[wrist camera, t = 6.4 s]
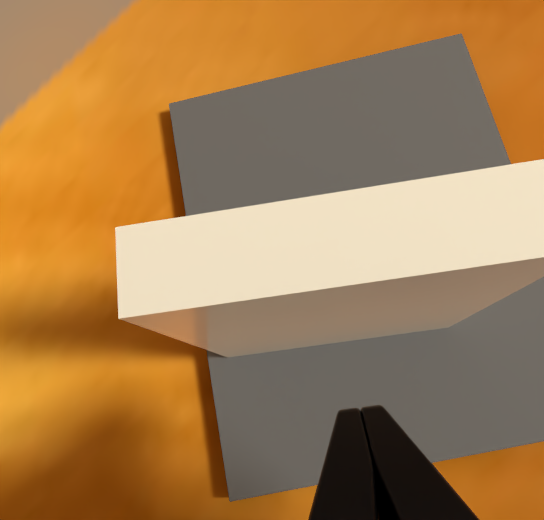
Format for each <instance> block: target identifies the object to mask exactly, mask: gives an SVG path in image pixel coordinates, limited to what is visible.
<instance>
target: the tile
mask: <svg viewBox="0 0 544 520" xmlns="http://www.w3.org/2000/svg"><path fill="white" fill-rule="evenodd" d="M115 230H116V261H117V292H118V319H121V320H123V321H126V322H129V323H132V324H135V325H138V326H140V327H143V328H146V329H149V330H152V331H155V332H157V333H160V334H163V335H166V336H169V337H171V338H174V339H177V340H180V341H183V342H186V343H188V344H191V345H194V346H197V347H200V348H203V349H205V350H208V351H211V352H214V353H217V354H219V355H222V356H225V357H236V356H243V355H250V354H258V353H265V352H272V351H280V350H287V349H294V348H302V347H309V346H316V345H324V344H331V343H339V342H346V341H353V340H361V339H368V338H375V337H383V336H390V335H397V334H405V333H412V332H419V331H427V330H434V329H441V328H449V327H450V326H452V325H454V324H456V323H458V322H460V321H462V320H463V319H465V318H467V317H469V316H471V315H473V314H475V313H477V312H478V311H480V310H482V309H484V308H486V307H488V306H490V305H492V304H493V303H495V302H497V301H499V300H501V299H503V298H505V297H507V296H508V295H510V294H512V293H514V292H516V291H518V290H520V289H522V288H523V287H525V286H527V285H529V284H531V283H533V282H535V281H536V280H538V279H540V278H542V277H544V159H542V160H535V161H529V162H523V163H517V164H510V165H504V166H498V167H491V168H485V169H479V170H473V171H466V172H460V173H454V174H447V175H441V176H435V177H429V178H422V179H416V180H410V181H404V182H397V183H391V184H385V185H378V186H372V187H366V188H360V189H353V190H347V191H341V192H334V193H328V194H322V195H316V196H309V197H303V198H297V199H290V200H284V201H278V202H272V203H265V204H259V205H253V206H246V207H240V208H234V209H228V210H221V211H215V212H209V213H202V214H196V215H190V216H184V217H177V218H171V219H165V220H158V221H152V222H146V223H140V224H133V225H127V226H121V227H115Z"/></svg>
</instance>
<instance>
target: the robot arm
mask: <svg viewBox="0 0 544 520" xmlns="http://www.w3.org/2000/svg"><path fill="white" fill-rule="evenodd" d="M308 520H479V519H478V518H477V516H476V515H475V514H474V513H473V512H472V510H471V509H470V508H469V507H468V506H467V505H466V503H465V502H464V501H463V500H462V499H461V497H460V496H459V495H458V494H457V493H456V492H455V490H454V489H453V488H452V487H451V486H450V485H449V483H448V482H447V481H446V480H445V479H444V477H443V476H442V475H441V474H440V473H439V472H438V470H437V469H436V468H435V467H434V466H433V464H432V463H431V462H430V461H429V460H428V459H427V457H426V456H425V455H424V454H423V453H422V451H421V450H420V449H419V448H418V447H417V446H416V444H415V443H414V442H413V441H412V440H411V438H410V437H409V436H408V435H407V434H406V433H405V431H404V430H403V429H402V428H401V427H400V425H399V424H398V423H397V422H396V421H395V420H394V418H393V417H392V416H391V415H390V414H389V412H388V411H387V410H386V409H385V408H384V407H383V406H381V405H372V406H364V407H362V408H361V410H360V409H359V408H348V409H341V410H339V411H338V413H337V416H336V419H335V423H334V427H333V430H332V434H331V438H330V441H329V445H328V449H327V453H326V456H325V460H324V464H323V467H322V471H321V475H320V478H319V482H318V486H317V489H316V493H315V497H314V500H313V504H312V508H311V512H310V515H309V519H308Z"/></svg>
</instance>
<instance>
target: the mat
mask: <svg viewBox="0 0 544 520" xmlns="http://www.w3.org/2000/svg"><path fill="white" fill-rule="evenodd" d="M169 108H170V114H171V121H172V127H173V134H174V140H175V147H176V153H177V160H178V167H179V173H180V180H181V186H182V193H183V199H184V206H185V212H186V216H190V215H196V214H202V213H209V212H215V211H221V210H228V209H234V208H240V207H246V206H253V205H259V204H265V203H272V202H278V201H284V200H290V199H297V198H303V197H309V196H316V195H322V194H328V193H334V192H341V191H347V190H353V189H360V188H366V187H372V186H378V185H385V184H391V183H397V182H404V181H410V180H416V179H422V178H429V177H435V176H441V175H447V174H454V173H460V172H466V171H473V170H479V169H485V168H491V167H498V166H504V165H510V164H511V163H510V160H509V158H508V155H507V152H506V150H505V147H504V145H503V142H502V139H501V137H500V134H499V131H498V129H497V126H496V123H495V121H494V118H493V116H492V113H491V110H490V108H489V105H488V102H487V100H486V97H485V94H484V92H483V89H482V86H481V84H480V81H479V79H478V76H477V73H476V71H475V68H474V65H473V63H472V60H471V57H470V55H469V52H468V49H467V47H466V44H465V42H464V39H463V36H462V34H457V35H453V36H449V37H445V38H441V39H436V40H432V41H428V42H424V43H420V44H416V45H412V46H407V47H403V48H399V49H395V50H391V51H387V52H382V53H378V54H374V55H370V56H366V57H362V58H357V59H353V60H349V61H345V62H341V63H337V64H332V65H328V66H324V67H320V68H316V69H312V70H307V71H303V72H299V73H295V74H291V75H287V76H282V77H278V78H274V79H270V80H266V81H262V82H258V83H253V84H249V85H245V86H241V87H237V88H233V89H228V90H224V91H220V92H216V93H212V94H208V95H203V96H199V97H195V98H191V99H187V100H183V101H178V102H174V103H170V104H169ZM207 356H208V363H209V369H210V376H211V383H212V389H213V396H214V402H215V409H216V415H217V422H218V428H219V435H220V441H221V448H222V455H223V461H224V468H225V474H226V481H227V487H228V494H229V500H230V502H231V501H236V500H241V499H246V498H251V497H257V496H262V495H267V494H272V493H277V492H282V491H288V490H293V489H298V488H303V487H308V486H314V485H318V482H319V478H320V475H321V471H322V467H323V464H324V460H325V456H326V453H327V449H328V445H329V441H330V438H331V434H332V430H333V427H334V423H335V419H336V416H337V413H338V411H339V410H341V409H348V408H359V409H360V410H361V408H362V407H364V406H372V405H381V406H383V407H384V408H385V409H386V410H387V411H388V412H389V414H390V415H391V416H392V417H393V418H394V420H395V421H396V422H397V423H398V424H399V425H400V427H401V428H402V429H403V430H404V431H405V433H406V434H407V435H408V436H409V437H410V438H411V440H412V441H413V442H414V443H415V444H416V446H417V447H418V448H419V449H420V450H421V451H422V453H423V454H424V455H425V456H426V457H427V459H428V460H429V461H430V462H431V463H433V462H438V461H443V460H448V459H453V458H459V457H464V456H469V455H474V454H479V453H485V452H490V451H495V450H500V449H505V448H510V447H516V446H521V445H526V444H531V443H536V442H542V441H544V277H542V278H540V279H538V280H536V281H535V282H533V283H531V284H529V285H527V286H525V287H523V288H522V289H520V290H518V291H516V292H514V293H512V294H510V295H508V296H507V297H505V298H503V299H501V300H499V301H497V302H495V303H493V304H492V305H490V306H488V307H486V308H484V309H482V310H480V311H478V312H477V313H475V314H473V315H471V316H469V317H467V318H465V319H463V320H462V321H460V322H458V323H456V324H454V325H452V326H450V327H449V328H441V329H434V330H427V331H419V332H412V333H405V334H397V335H390V336H383V337H375V338H368V339H361V340H353V341H346V342H339V343H331V344H324V345H316V346H309V347H302V348H294V349H287V350H280V351H272V352H265V353H258V354H250V355H243V356H236V357H225V356H222V355H219V354H217V353H214V352H211V351H208V350H207Z"/></svg>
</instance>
